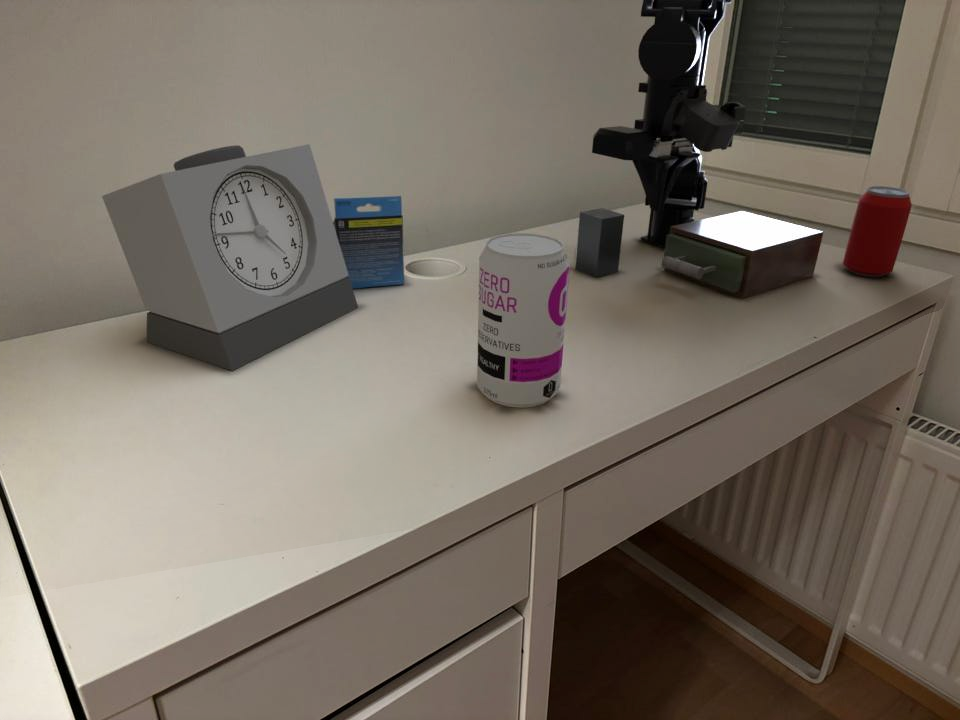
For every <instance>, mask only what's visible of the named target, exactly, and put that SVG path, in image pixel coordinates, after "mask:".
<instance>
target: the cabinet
mask: <svg viewBox="0 0 960 720" xmlns="http://www.w3.org/2000/svg"><path fill="white" fill-rule="evenodd" d="M670 234H675V235H678V236H686V237H689V238H692V239H695V240H699V241H702V242H705V243H708V244H712V245H715V246H718V247H721V248H725V249H728V250H731V251H734V252H738V253H741V254H744V255H746V261H745V266H744V271H743V277H742V282H741V287H740V291H738V292H735V293H734V292H731V291H728V290H725V289H722V288H720V287H717V286H714V285H711V284H709V283H706V282H703V281H700V280H697V279H695V278H692V277H689V276H686V275H683V274H681V273H678V272H675V271H672V270H670V269H667V268H664V271H666V272H668V273H671V274H674V275H677V276H679V277H683V278H685V279H688V280H690V281H694V282H697V283H699V284H702V285H705V286H708V287H709V288H712V289H716V290H719V291H721V292H723V293H726V294H729V295H732V296H735V297H738V298H741V299H745V298H746V299H747V298H749V297H752V296H754V295H757V294H761V293H764V292H765V293H766V292H768V291H771V290H773V289H776V288H780V287H783V286H786V285H789V284H792V283H795V282H799V281H802V280H804V279H807V278H811V277H813V276H814V273H815V269H816V265H817V261H818V257H819V252H820V249H821V245H822V241H823V236H824V231H822V230H819V229H814V228H810V227H806V226H803V225H800V224H799V225H798V224H794V223H791V222H787V221H783V220H779V219H775V218H772V217H767V216H765V215H760V214H756V213H753V212H748V211H744V210H739V211H735V212H730V213H725V214H722V215H717V216H713V217H707V218H703V219H699V220H694V221H693V222H689V223H684V224H679V225H675V226H671V227H670Z"/></svg>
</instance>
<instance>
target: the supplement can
mask: <svg viewBox="0 0 960 720" xmlns="http://www.w3.org/2000/svg"><path fill="white" fill-rule="evenodd" d="M485 243H486V245H485V246H484V248H483V250H482V252H481V254H479V257H478V266H479V267H478V303H477V304H478V305H477V306H478V307H477V308H478V310H477V311H478V313H477V314H478V315H477V361H476V362H477V365H476V366H477V367H476V370H477V372H476V383H477V384H476V385H477V386H476V387H477V388H478V390H479V391H480V392H481V394H483V395H484V396H485V398H487V399H488V400H490V401H491V402H493V403H495V404H497V405H500V406H504V407H508V408H518V409H519V408H520V409H522V408H523V409H524V408H534V407H537V406H541V405H543V404H545V403H547V402H548V401H549V400H551V399H552V398H553V397H554V396H556V395H558V392H559V391H560V389H561V384H562V383H561V381H562V371H563V369H562V368H563V356H564V355H563V354H564V343H565V329H566V318H567V314H566V313H567V303H568V292H569V291H568V290H569V277H570V265H571V264H570V261H569V258H568V256H567V253H566V252H565V245H564V243H563V242H562V241H561V240H559V239H557V238H555V237H551V236H548V235H544V234H538V233H529V232H528V233H527V232H515V233H514V232H512V233H511V232H510V233H504V234H498V235H495V236H492V237H490V238H489V239H487V241H485Z"/></svg>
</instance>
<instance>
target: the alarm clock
mask: <svg viewBox="0 0 960 720" xmlns="http://www.w3.org/2000/svg"><path fill="white" fill-rule="evenodd" d="M173 168H174V171H168V172H164V173H159V174H156V175H154V176H151V177H148V178H146V179H143V180H141V181H138V182H135V183H133V184H130V185H127V186H125V187H121V188H119V189H117V190H114V191H112V192H109V193H106V194H104V195H102V196H101V198H102V200H103V203H104V205H105V208H106V211H107V213H108V217H109V218H110V222H111V224H112V227H113V228H114V232H115V233H116V237H117V239H118V242H119V244H120V246H121V250H122V252H123V255H124V257H125V259H126V262H127V265H128V268H129V270H130V273H131V275H132V278H133V281H134V283H135V285H136V288H137V290H138V293H139V295H140V298H141V301H142V303H143V307H144V308H145V311H147V312H146V337H145V338H146V339H145V341H146V343H150V344H151V345H155V346H158V347H159V348H163V349H166V350H169V351H172V352H176V353H178V354H180V355H184V356H187V357H190V358H193V359H195V360H198V361H201V362H204V363H207V364H211V365H214V366H215V367H216V366H217V367H219V368H222V369H225V370H228V371H231V372H233V371H235V370H237V369H239V368H241V367H243V366H245V365H247V364H249V363H252V362H254V361H255V360H257V359H259V358H261V357H263V356H265V355H267V354H269V353H271V352H274V351H275V350H277V349H279V348H281V347H284V346H285V345H287V344H289V343H291V342H293V341H295V340H297V339H299V338H301V337H303V336H305V335H307V334H309V333H311V332H313V331H315V330H317V329H319V328H321V327H323V326H325V325H327V324H329V323H331V322H333V321H334V320H337V319H339V318H340V317H343V316H345V315H347V314H348V313H351V312H352V311H354V310H356V309H358V308H359V305H358V302H357V299H356V296H355V292H354V289H353V288H352V284H351V281H350V278H348V277H347V276H349V275H348V272H347V268H346V265H345V261H344V258H343V255H342V251H341V248H340V245H339V241H338V238H337V235H336V231H335V228H334V224H333V221H334V220H333V217H332V214H331V212H330V208H329V205H328V201H327V197H326V195H325V191H324V188H323V184H322V181H321V178H320V174H319V171H318V168H317V164H316V161H315V158H314V155H313V151H312V147H311V144H310V143H309V144H303V145H298V146H294V147H293V146H292V147H288V148H283V149H277V150H273V151H268V152H262V153H258V154H253V155H246V152H245V150H244V148H243V147H242V146H240V145H239V144H237V145H228V146H222V147H217V148H213V149H209V150H205V151H202V152H197V153H195V154H192V155H188V156H185V157H182V158H181V159H179V160H177V161H175V162H174V163H173Z"/></svg>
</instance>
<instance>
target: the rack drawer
mask: <svg viewBox="0 0 960 720" xmlns="http://www.w3.org/2000/svg"><path fill="white" fill-rule="evenodd" d="M745 261H746V255H744V254H741V253H738V252H734V251H731V250H728V249H725V248H721V247H718V246H715V245H712V244H708V243H705V242H702V241H699V240H695V239H692V238H689V237H686V236H678V235H675V234H669V235H667V237H666V245H665V248H664V253H663V258H662V259H661V262H660V263H661V267H662V268H664V269H665V268H667V269H670V270H672V271H675V272H678V273H681V274H683V275H686V276H689V277H692V278H695V279H697V280H700V281H703V282H706V283H709V284H711V285H714V286H717V287H720V288H722V289H725V290H728V291H731V292H734V293H735V292H738V291H740V287H741V282H742V277H743V271H744V266H745Z"/></svg>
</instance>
